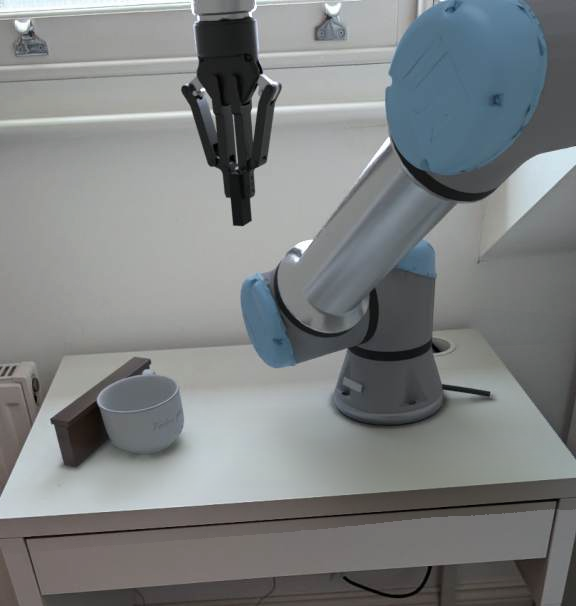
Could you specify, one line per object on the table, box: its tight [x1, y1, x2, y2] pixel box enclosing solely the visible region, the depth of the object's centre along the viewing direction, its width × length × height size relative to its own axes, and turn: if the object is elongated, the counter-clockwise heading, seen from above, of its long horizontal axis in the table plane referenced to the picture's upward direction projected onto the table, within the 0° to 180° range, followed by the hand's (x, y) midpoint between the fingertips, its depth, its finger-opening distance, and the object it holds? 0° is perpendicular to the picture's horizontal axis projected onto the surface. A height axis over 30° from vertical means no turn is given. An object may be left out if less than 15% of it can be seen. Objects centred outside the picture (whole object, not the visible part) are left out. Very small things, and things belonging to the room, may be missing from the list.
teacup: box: [97, 368, 185, 455], centre depth 109 cm, size 14×11×8 cm
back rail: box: [49, 356, 152, 468], centre depth 111 cm, size 3×20×7 cm, turn 157°
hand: (242, 223), depth 108 cm, fingers closed
